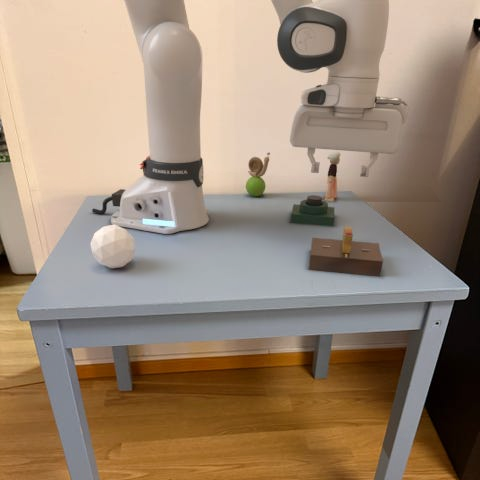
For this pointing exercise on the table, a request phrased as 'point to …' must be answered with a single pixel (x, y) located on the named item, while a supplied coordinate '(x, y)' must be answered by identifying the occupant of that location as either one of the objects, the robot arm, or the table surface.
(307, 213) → the block
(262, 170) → the snail figurine
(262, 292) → the table surface
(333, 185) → the grandmother figurine
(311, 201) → the bell button
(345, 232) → the lock turn
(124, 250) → the geometric ball
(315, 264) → the plate
